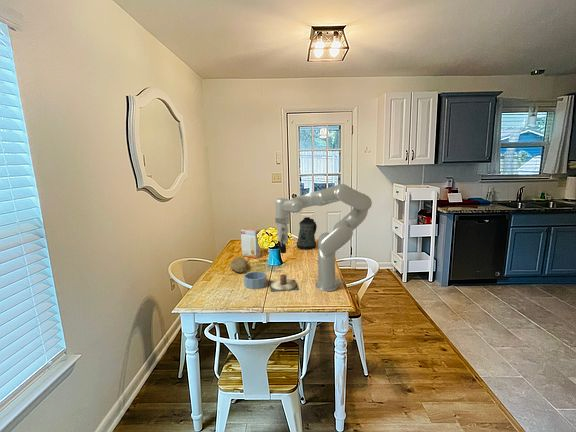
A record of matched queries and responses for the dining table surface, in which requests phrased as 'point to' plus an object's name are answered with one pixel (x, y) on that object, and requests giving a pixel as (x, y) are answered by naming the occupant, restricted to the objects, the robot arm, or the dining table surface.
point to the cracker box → (250, 243)
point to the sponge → (239, 264)
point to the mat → (286, 290)
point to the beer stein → (307, 234)
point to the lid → (283, 284)
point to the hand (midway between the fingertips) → (281, 250)
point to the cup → (255, 280)
